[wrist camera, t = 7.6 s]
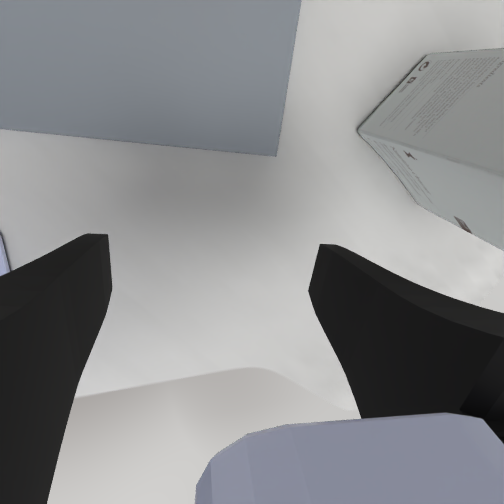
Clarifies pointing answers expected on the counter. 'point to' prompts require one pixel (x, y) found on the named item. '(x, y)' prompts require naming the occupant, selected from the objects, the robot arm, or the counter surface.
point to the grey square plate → (149, 70)
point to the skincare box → (449, 138)
